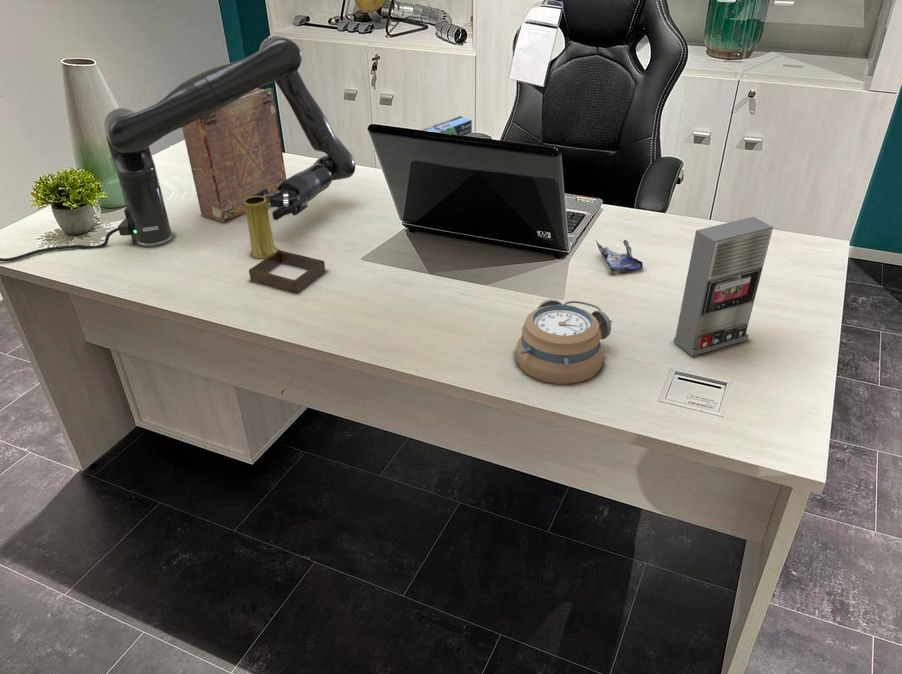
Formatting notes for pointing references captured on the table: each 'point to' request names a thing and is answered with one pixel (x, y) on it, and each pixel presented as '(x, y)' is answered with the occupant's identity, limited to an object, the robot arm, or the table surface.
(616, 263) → the snack package
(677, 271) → the table surface
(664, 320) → the table surface
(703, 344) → the cassette tape recorder
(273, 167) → the book
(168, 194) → the table surface
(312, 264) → the open brown wooden box
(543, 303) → the alarm clock
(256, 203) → the vase
